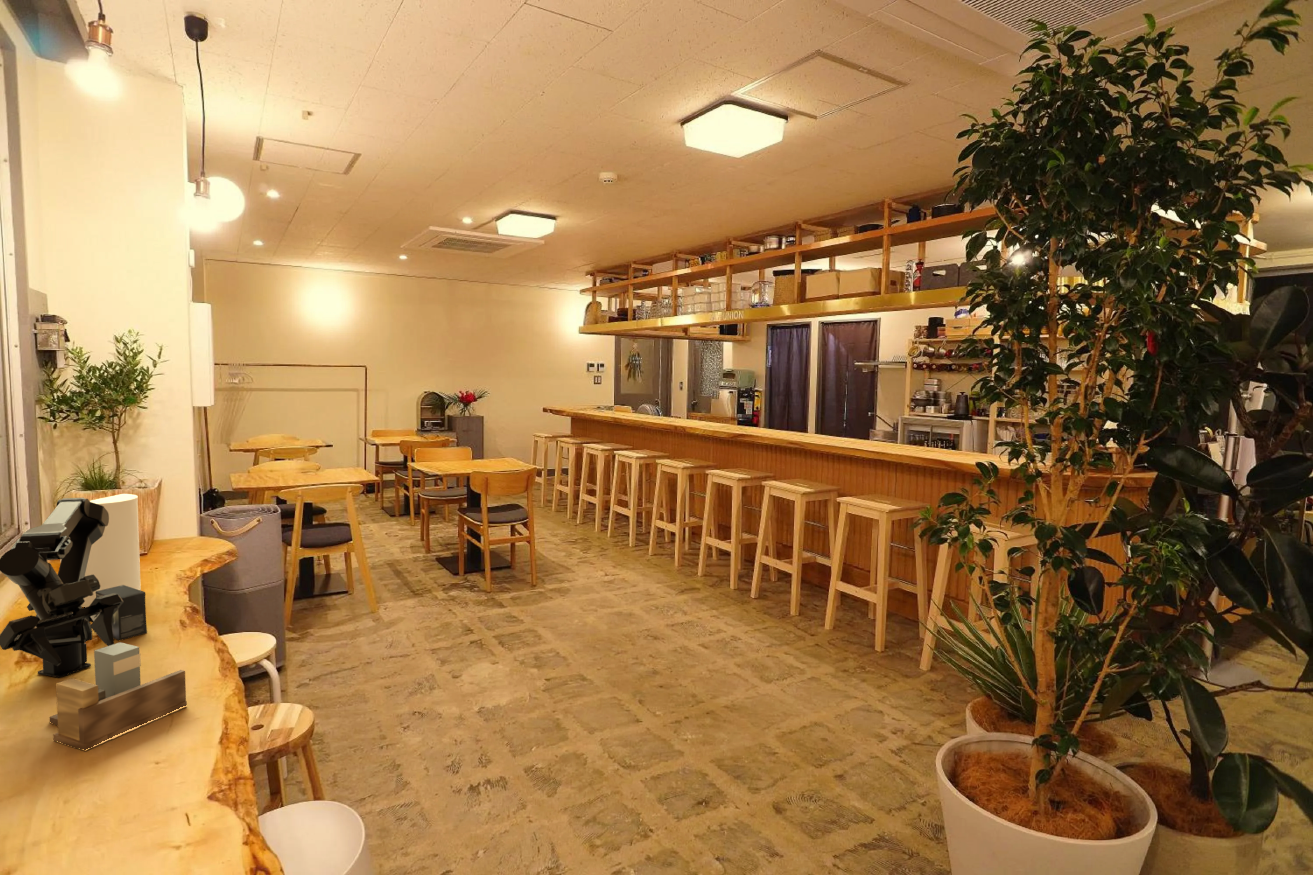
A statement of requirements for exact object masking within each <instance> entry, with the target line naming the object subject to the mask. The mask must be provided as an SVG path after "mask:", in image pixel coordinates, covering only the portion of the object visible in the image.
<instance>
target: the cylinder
mask: <svg viewBox="0 0 1313 875" xmlns="http://www.w3.org/2000/svg"><path fill="white" fill-rule="evenodd" d="M138 498H139V497H138V495H137V494H131V493H121V494H116V495H111V496H106V497H100V498H97V499H91V500H89V501H90V502H92V503H95V504H99V505H102V506H104V508H105V509H106V510H107V512H108V514H109V523H108V526H105V529H104V533H103V536H102V537H101V538H99V539H98V540H97V541H96V542H95V543H94V544H92V546H91V550H90V555H89V559H88V563H87V568H86V572H85V576H89V575H93V574H94V575H95V577H96V578H97V579H98V580H99V583H100V589H98V590H96V591H99V590H104V589H108V588H112V587H116V586H120V585H125V586H128V587H131V588H134V589H137V590H141V587H142V586H141V562H140V558H141V556H140V532H139V530H140V529H139V527H140V526H139V525H140V524H139V501H138V500H139V499H138ZM59 561H60V562H59V563H61V559H59ZM96 591H94V592H93V595H92V596H88V597H85V598H83V599H84V600H85V602H84V603H83V604H82V605H81V606H82V607H89V606H90V604H91V603H92V602H93V600H94V599H95V598H96ZM141 591H142V590H141Z"/></svg>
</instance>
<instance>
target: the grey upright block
mask: <svg viewBox="0 0 1313 875" xmlns="http://www.w3.org/2000/svg"><path fill="white" fill-rule="evenodd" d="M93 653H94V654H93V657H94V679H95V680H94V681H95V685H98V688H99V689H103V690H105V694H106V698H108V697H111V696H113V695H116V694H119V693H121V692H124V691H127V690H129V689H132V688H134V687H137V686H140V685H142V683H141V666H142V665H141V664H142V663H141V662H142V661H141V659H142V658H141V653H140V647H139V646H136V645H133V644H128V643H124V642H121V641H120V642H117V643H114V644H113V645H110V646H107V645H106V646H104V647H100V648H98V649H95V650H94V652H93Z"/></svg>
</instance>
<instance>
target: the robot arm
mask: <svg viewBox="0 0 1313 875" xmlns="http://www.w3.org/2000/svg"><path fill="white" fill-rule="evenodd" d="M90 501H91V500H89V499H88V498H85V497H63V498H62V499H61V498H60V499H58V500H57V502H56V507H55V508H54V509H53V510H52V512H51V513H50V514H49V515H48V517H46V519H45V521H44V522H43V523H42V524H41V525H39V526H35V527H32V528H29V529H27V530H26V531H24V532H23V533H22V534H21V535H20V537H19V538H18V539H17V540H16V541H15V543H14V544H13V545H12V547H11V548H10V549H9V550H7V551H5V552H4V553H3V555H1V556H0V572H1V573H2V574H3V575H4V576H5V577H7V578H8V579H9V580H10V581H12V582H13V583H14V584H16V585H17V586H19V588H20V590H21V591H22V593H23V595H24V597H26V599H27V601H28V602H29V603H28V605H27V606H26V608H27V610H28V611H29V612H31V611H34V612H35V614H36V615H32V614H31V615H28V616H23V617H21V618H16V619H13V620H12V619H11V620H10V621H8V623H7V624H6V625H5V627H4V628H3V629H2V631H1V632H0V648H1V650H4V651H6V650H9V649H12V651H13V652H16V651H22V652H24V653H27V654H30V655H33V656H35V657H37V658H39V659H42V669H41V670H38V671H37V674H38V675H42V676H48V677H54V678H63V677H65V676H68V675H71V674H73V673H76V672H79V671H82V670H84V669H86V668H89V667H92V664H91V663H89V662H88V649H87V648H88V646H87V642H89V641H92V640H93V631H94V633H95V634H96V635H97V636H98V637H99V639H101V641H102V642H103V643H104V645H106V647H107V646H110V645H113V644H115V641H114V640H115V639H114V638H113V630H112V616H113V615H114V614H115V612H116V611H117V610H118V609H119V607H120V606H121V605H122V604H123V600H122V599H121V597H120V596H119V595H118V594H114V593H112V594H109V595H105V596H101V597H97V598H95V599H94V600H93V602H92V603H91V604H90V606H89V607H85V608H82V606H81V605H82V604H83V603H84V602H85V600H84V599H83V598H85V597H88V596H92V595H93V592H94V591H96V590H98V589H100V583H99V580H98V579H97V578H96V577H95V575H94V574H93V575H89V576H85V572H86V568H87V563H88V559H89V555H90V550H91V546H92V544H94V543H95V542H96V541H97V540H98V539H99V538H101V537H102V536H103V533H104V529H105V526H108V523H109V514H108V512H107V510H106V509H105V508H104V506H102V505H99V504H95V503H92V502H90ZM60 559H61V563H60V562H59V563H60V565H59V568H58V572H57V571H56V570H55V568H54V567H53V565H52V564H51V563H50V562H48V561H56V560H60Z"/></svg>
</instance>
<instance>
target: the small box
mask: <svg viewBox="0 0 1313 875" xmlns="http://www.w3.org/2000/svg"><path fill="white" fill-rule="evenodd" d="M112 593H114V594H118V595H119V596H120V597H121V599H122V600H123V604H122V605H121V606H120V607H119V609H118V610H117V611H116V612H115V614H114V615H113V616H112V630H113V639H114V640H116V641H119V640H120V641H122V639H123V640H126V639H129V638H134V637H137V636H141V635H144V634H147V633H148V628H147V608H146V591H145V590H137V589H134V588H131V587H128V586H125V585H120V586H116V587H112V588H108V589H104V590H99V591H96V598H97V597H101V596H105V595H109V594H112ZM133 636H134V637H133Z"/></svg>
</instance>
